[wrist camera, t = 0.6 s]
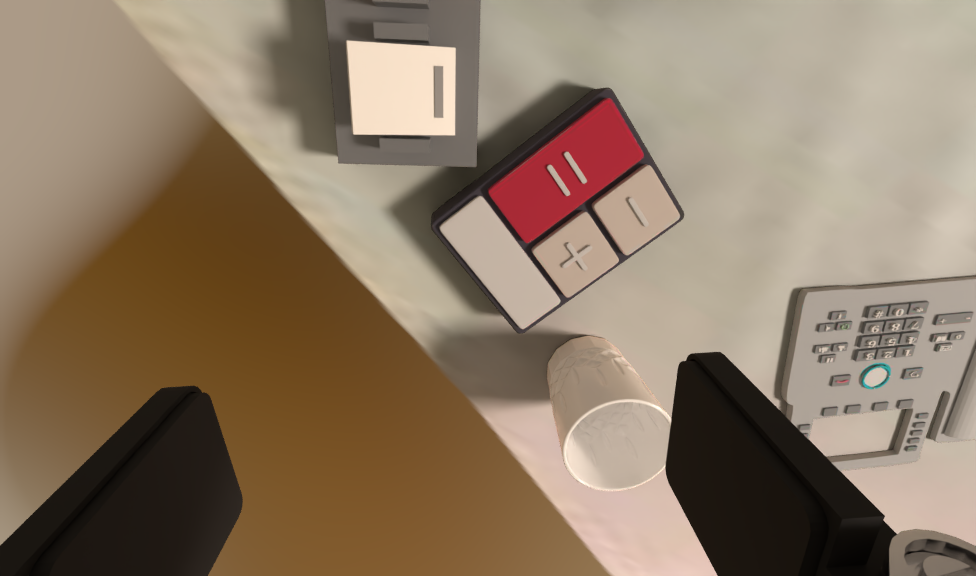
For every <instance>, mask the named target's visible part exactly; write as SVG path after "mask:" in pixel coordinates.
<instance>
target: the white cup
mask: <svg viewBox="0 0 976 576" xmlns="http://www.w3.org/2000/svg"><path fill="white" fill-rule="evenodd" d="M547 381H548V386H549V390H550V399H551V404H552V410H553V415H554V420H555V425H556V429H557V433H558V438H559V442H560V447H561V452H562V456H563V461H564V464H565V466H566V468H567V470H568V472H569V473H570V474H571V476H572V477H573V478H574V479H576V480H577V481H578V482H580V483H581V484H583V485H585V486H587V487H590V488H592V489H596V490H601V491H621V490H626V489H630V488H634V487H637V486H639V485H641V484H644V483H646V482H647V481H649V480H651V479H652V478H654V477H655V476H656V475H658V474H659V473H660V472H661V471H662V470H663V469H664V468H665V467H666V457H667V449H668V442H669V434H670V426H671V418H670V417H669V415H668V414H667V413H666V411H665V410H664V408H663V407H662V406H661V404H660V403H659V402H658V400H657V399H656V398H655V396H654V395H653V393H652V392H651V391H650V389H649V388H648V387H647V385H646V384H645V382H644V381H643V380H642V378H641V377H640V376H639V375H638V374H637V373H636V371H635V370H634V368H633V367H632V366H631V365H630V364H629V362H628V361H627V360H626V359H625V358H624V357H623V355H622V354H621V353H620V351H619V350H618V348H616V347H615V346H614V345H612V344H611V343H610V342H608V341H607V340H606V339H603V338H598V337H593V336H584V337H579V338H575V339H571V340H569V341H568V342H566V343H565V344H563V345H562V346H560V347H559V348H557V349H556V351H555V352H554V354H553V356H552V357H551V359H550V361H549V362H548V369H547Z"/></svg>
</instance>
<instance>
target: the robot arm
mask: <svg viewBox="0 0 976 576" xmlns="http://www.w3.org/2000/svg"><path fill="white" fill-rule="evenodd" d="M665 468H666V475H667V479H668V482H669V484H670V486H671V488H672V490H673V492H674V494H675V496H676V498H677V500H678V501H679V503H680V505H681V507H682V509H683V511H684V513H685V515H686V517H687V518H688V520H689V522H690V524H691V526H692V528H693V530H694V532H695V534H696V535H697V537H698V539H699V541H700V543H701V545H702V547H703V549H704V551H705V553H706V554H707V556H708V558H709V560H710V562H711V564H712V566H713V568H714V570H715V571H716V573H717V575H718V576H976V546H974V545H972V544H970V543H968V542H965V541H963V540H961V539H959V538H956V537H953V536H950V535H946V534H943V533H939V532H936V531H929V530H920V529H913V530H907V531H901V532H900V533H899V534H896V533H895V532H894V531H893V530H892V529H891V528H890V527H889V526H888V525H887V524H886V523H885V522H884V521H883V519H884V517H885V516H884V515H883V514H882V513H881V512H880V511H879V510H878V509H877V508H876V507H875V506H874V505H873V504H872V503H871V502H870V501H869V500H868V499H867V498H866V497H865V496H864V495H863V494H862V493H861V492H860V491H859V490H858V489H857V488H856V487H855V486H854V485H853V484H852V483H851V482H850V481H849V480H848V479H847V478H846V477H845V476H844V475H843V474H842V473H841V472H840V471H839V470H838V469H837V468H836V467H835V466H834V465H833V464H832V463H831V462H830V461H829V460H828V459H827V458H826V457H825V456H824V455H823V454H822V453H821V452H820V451H819V450H818V448H817V447H816V446H815V445H814V444H813V443H812V442H811V441H810V440H809V439H808V438H807V437H806V436H805V435H804V434H803V433H802V432H801V431H800V430H799V429H798V428H797V427H796V426H795V425H794V424H793V423H792V422H791V421H790V420H789V419H788V418H787V417H786V416H785V415H784V414H783V413H782V412H781V411H780V410H779V409H778V408H777V407H776V406H775V405H774V404H773V403H772V402H771V401H770V400H769V399H768V398H767V397H766V396H765V395H764V394H763V393H762V392H761V391H760V390H759V389H758V388H757V387H756V386H755V385H754V384H753V383H752V382H751V381H750V380H749V379H748V378H747V377H746V376H745V375H744V374H743V373H742V372H741V371H740V370H739V369H738V368H737V367H736V366H735V365H734V364H733V363H732V362H731V361H730V360H729V359H728V358H727V357H726V356H725V355H724V354H722V353H721V352H709V353H694V354H690V355H689V356H688V357H687V360H686V361H682V362H680V364H679V367H678V373H677V380H676V388H675V396H674V403H673V411H672V419H671V426H670V434H669V442H668V449H667V457H666V467H665ZM241 509H242V494H241V490H240V487H239V484H238V481H237V478H236V475H235V472H234V469H233V466H232V463H231V460H230V456H229V453H228V450H227V447H226V444H225V441H224V438H223V435H222V432H221V429H220V426H219V422H218V420H217V416H216V413H215V410H214V407H213V404H212V401H211V398H210V396H209V395H208V394H207V393H202V392H201V390H200V389H199V388H198V387H196V386H183V387H168V388H162V389H160V390H159V391H157V392H156V393H155V394H154V395H153V396H152V397H151V398H150V399H149V400H148V401H147V402H146V403H145V404H144V405H143V406H142V407H141V408H140V409H139V410H138V411H137V412H136V413H135V414H134V415H133V416H132V417H131V418H130V419H129V420H128V421H127V422H126V423H125V424H124V425H123V426H122V427H121V428H120V429H119V430H118V431H117V432H116V433H115V434H114V435H112V437H110V438H109V440H107V441H106V442H105V443H104V444H103V445H102V446H101V447H100V448H99V449H98V450H97V451H96V452H95V453H94V454H93V455H92V456H91V457H90V458H89V459H88V460H87V461H86V462H85V463H84V464H83V465H82V466H81V467H80V468H79V469H78V470H77V471H76V472H75V473H74V474H73V475H72V476H71V477H70V478H69V479H68V480H67V481H66V482H65V483H64V484H63V485H62V486H61V487H60V488H59V489H57V491H55V492H54V493H53V494H52V495H51V496H50V497H49V498H48V499H47V500H46V501H45V502H44V503H43V504H42V505H41V506H40V507H39V508H38V509H37V510H36V511H35V512H34V513H33V514H32V515H31V516H30V517H29V518H28V519H27V520H26V521H25V522H24V523H23V524H22V525H21V526H20V527H19V528H18V529H17V530H16V531H15V532H14V533H13V534H12V535H11V536H10V537H9V538H8V539H7V540H6V541H5V542H4V543H3V544H1V545H0V576H208V574H209V572H210V570H211V569H212V567H213V564H214V563H215V561H216V559H217V557H218V555H219V553H220V551H221V550H222V548H223V546H224V544H225V542H226V540H227V538H228V536H229V534H230V532H231V531H232V529H233V527H234V525H235V523H236V521H237V519H238V517H239V515H240V513H241Z"/></svg>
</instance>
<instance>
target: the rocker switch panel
mask: <svg viewBox="0 0 976 576" xmlns="http://www.w3.org/2000/svg"><path fill="white" fill-rule="evenodd" d="M325 9H326V21H327V32H328V44H329V56H330V68H331V80H332V92H333V104H334V116H335V128H336V139H337V151H338V163H343V164H380V165H418V166H455V167H476V166H477V124H478V82H479V40H480V0H325ZM346 41H361V42H376V43H391V44H406V45H422V46H437V47H452V48H456V64H455V135H356V134H353V133H352V124H351V110H350V96H349V82H348V68H347V55H346Z"/></svg>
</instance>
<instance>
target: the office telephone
mask: <svg viewBox="0 0 976 576" xmlns="http://www.w3.org/2000/svg"><path fill="white" fill-rule="evenodd" d="M943 391H944V395H943V398H942V401H941V404H940V407H939V410H938V413H937V416H936V419H935V422H934V425H933V428H932V431H931V434H930V438H931V439H933V440H934V441H935V442H937V443H947V442H959V441H969V440H976V276H970V277H959V278H947V279H935V280H924V281H912V282H900V283H888V284H876V285H864V286H830V287H818V288H805V289H801V291H800V292H799V295H798V298H797V302H796V308H795V313H794V319H793V324H792V330H791V336H790V341H789V347H788V353H787V358H786V364H785V369H784V375H783V381H782V389H781V396H782V398H783V399H784V400H785V401H786V402H787V411H786V417H787V418H788V419H789V420H790V421H791V422H792V423H793V424H794V425H795V426H796V427H797V428H798V429H799V430H800V431H801V432H802V433H803V434H804V435H805V436H806V437H807V438H808V439H809V436H810V432H811V428H812V424H813V419H819V418H827V417H835V416H843V415H852V414H861V413H870V412H879V411H888V410H897V409H906V412H905V416H904V419H903V422H902V425H901V428H900V431H899V434H898V437H897V440H896V443H895V445H894V448H893V450H888V451H880V452H871V453H862V454H852V455H842V456H833V457H826V458H827V459H828V460H829V461H830V462H831V463H832V464H833V465H834V466H835V467H836V468H837V469H838V470H839V471H846V470H856V469H865V468H875V467H885V466H893V465H900V464H907V463H913V462H916V461H918V460H919V459H920V453H921V449H922V446H923V443H924V440H925V437H926V435H927V432H928V429H929V426H930V423H931V420H932V418H933V415H934V412H935V410H936V407H937V404H938V401H939V399H940V396H941V393H942V392H943Z"/></svg>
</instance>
